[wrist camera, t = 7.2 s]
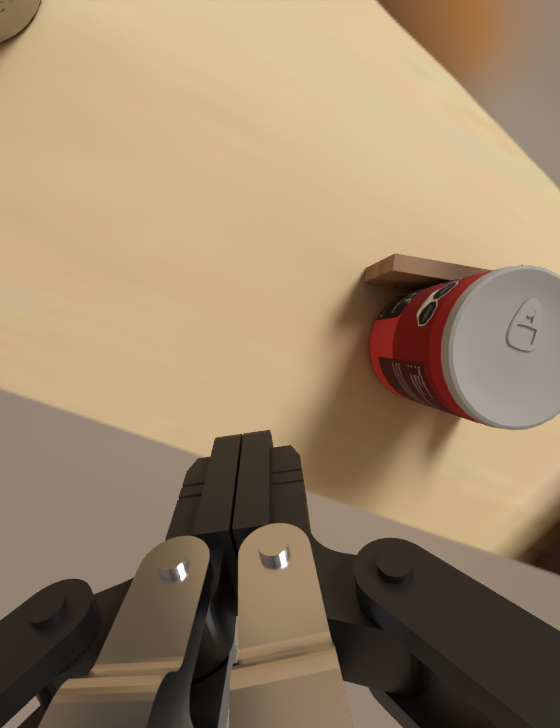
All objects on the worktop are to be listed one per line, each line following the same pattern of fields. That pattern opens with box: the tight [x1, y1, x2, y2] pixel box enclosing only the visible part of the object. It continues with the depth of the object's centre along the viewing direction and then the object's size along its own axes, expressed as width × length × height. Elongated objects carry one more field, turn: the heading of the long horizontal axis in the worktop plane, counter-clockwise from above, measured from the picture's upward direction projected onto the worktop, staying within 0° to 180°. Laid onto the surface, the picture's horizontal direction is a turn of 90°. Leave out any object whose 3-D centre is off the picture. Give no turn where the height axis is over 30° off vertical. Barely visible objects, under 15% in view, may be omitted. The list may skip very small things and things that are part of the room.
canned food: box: [369, 266, 560, 430], centre depth 24 cm, size 8×8×11 cm
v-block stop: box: [364, 254, 523, 290], centre depth 27 cm, size 13×7×5 cm, turn 38°
